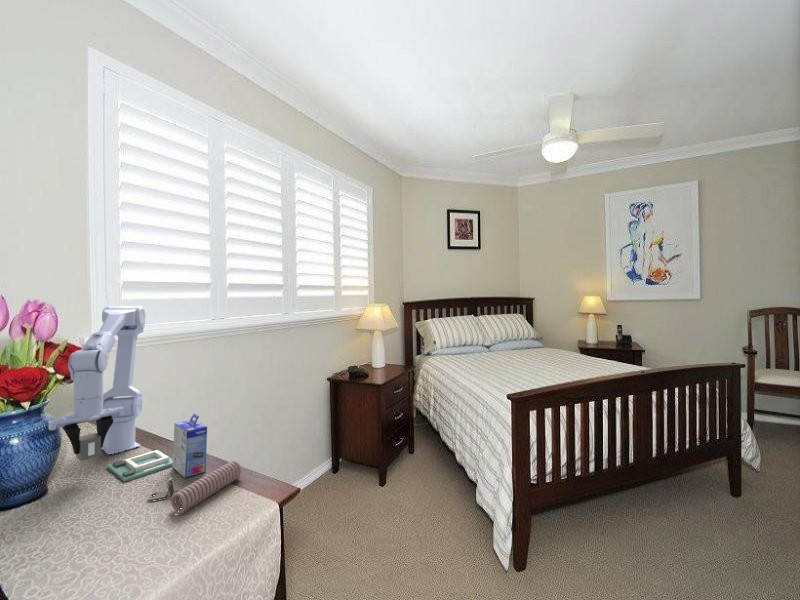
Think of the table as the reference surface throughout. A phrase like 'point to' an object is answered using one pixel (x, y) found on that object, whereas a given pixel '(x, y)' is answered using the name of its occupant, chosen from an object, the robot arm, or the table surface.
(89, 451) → the plug
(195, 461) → the ink cartridge box
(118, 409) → the robot arm
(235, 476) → the coil
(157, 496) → the strap clip
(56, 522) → the table surface
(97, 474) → the table surface
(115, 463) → the board
